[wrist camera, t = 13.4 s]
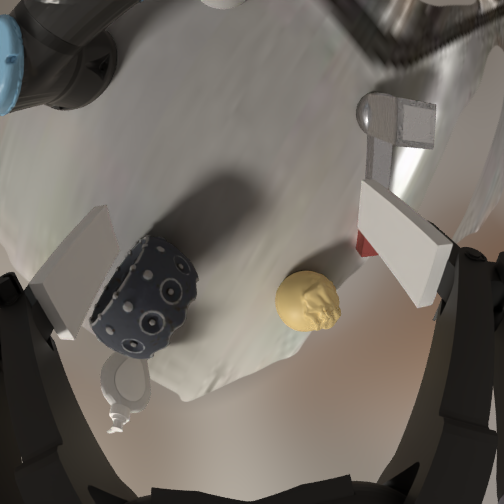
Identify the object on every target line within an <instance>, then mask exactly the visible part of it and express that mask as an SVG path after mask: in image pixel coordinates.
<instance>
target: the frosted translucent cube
mask: <svg viewBox="0 0 504 504" xmlns="http://www.w3.org/2000/svg"><path fill="white" fill-rule="evenodd" d="M435 122H436V104H431V103H426V102H421V101H416V100H411V99H405V98H399V97H391V96H382V95H372V94H368V130H367V134H368V135H370V136H373V137H375V138H378V139H380V140H383V141H385V142H388V143H390V144H392V145H395V146H400V147H413V148H423V149H433V148H434V137H435Z"/></svg>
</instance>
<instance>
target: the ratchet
mask: <svg viewBox="0 0 504 504" xmlns="http://www.w3.org/2000/svg"><path fill="white" fill-rule="evenodd" d="M368 94H372V95H382V96H391V97H394V96H393V95H391V94H387V93H378V92H372V93H368ZM368 94H366V95H365V96H363V97H362V98H361V100H360V101H359V103H358V105H357V109H356V117H357V121H358V124H359V126H360V128H361V129H362V130H363V131H364V132H365V133H366V134H367V130H368ZM391 159H392V144H390V143H388V142H385V141H383V140H380V139H378V138H375V137H373V136H370V135H368V134H367V159H366V175H365V180H376V181H377V182H378V183H380V184H381V185H383V186H384V187H385V188H387V189H388V190H389V181H390V171H391ZM356 250H357V251H358V253H359V254H360V256H361V257H367V256H375V255H379V254H378V253H377V252H376V250H375V249H374V248H373V247H372V245H371V244H370V243H369V242H368V240H367V239H366V238H365V237H364V235H363V234H362V233H361V232H360V230H359V229H358V237H357V244H356Z"/></svg>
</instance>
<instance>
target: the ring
mask: <svg viewBox="0 0 504 504" xmlns="http://www.w3.org/2000/svg"><path fill="white" fill-rule="evenodd" d="M197 281H199V278H198V275H197V272H196V270H195V268H194V266H193V265H192V263H191V262H190V260H189V259H188V258H187V257H186V256H184V255H183V254H182V253H181V252H180V251H179V250H178V249H177V248H176V247H175V246H173V245H172V244H170V243H168V242H167V241H166V240H165V238H163V237H157V238H156V237H151V236H150V235H146V236H145V237H144V238H141V239H140V240H139V242H138V244H137V245H136V246H135V247H134V248H133V249H132V250H130V251H129V254H128V255H127V257H126V258H125V259H124V261H123V262H122V263H121V265H120V266H119V267H117V268H116V272H115V274H114V275H113V276H112V278H111V280H110V281H109V283H108V284H107V286H105V287H104V291H103V293H102V295H101V297H100V299H99V301H98V302H97V304H95V306H94V308H95V309H94V311H93V314H92V316H91V317H90V318H89V322H90V324H89V325H90V327H91V328H92V330H93V331H94V333H95V334H96V337H97V339H98V340H99V341H100V342H103V343H104V344H105V345H106V346H108V347H109V348H110V349H112V350H114V351H116V352H118V353H120V354H122V355H124V356H127V357H130V358H135V359H149V358H152V357H154V353H155V352H157V351H158V350H161V349H164V348H166V347H167V345H168V344H169V343H170V337H171V335H172V334H173V332H174V331H175V330H176V329H178V328H179V327H181V326H183V324H184V322H185V320H186V315H187V309H188V306H189V304H190V303H191V302H192V301H194V300H195V299H196V296H197V288H196V282H197Z"/></svg>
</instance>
